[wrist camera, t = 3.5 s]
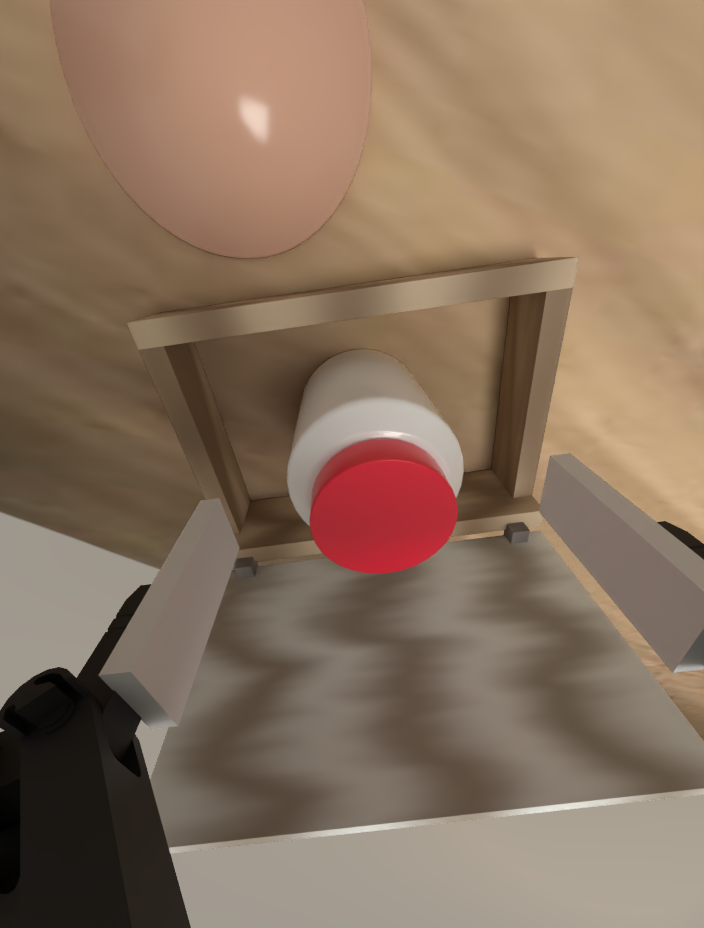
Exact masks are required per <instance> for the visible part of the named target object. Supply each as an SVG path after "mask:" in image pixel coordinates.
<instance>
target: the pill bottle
mask: <svg viewBox="0 0 704 928" xmlns="http://www.w3.org/2000/svg"><path fill="white" fill-rule="evenodd" d="M463 474H464V465H463V454H462V451H461V448H460V445H459V442H458V439H457V438H456V436H455V435H454V433H453V431H452V430H451V428H450V427H449V425H448V424H447V422H446V421H445V419H444V418H443V417H442V415H441V414H440V413H439V411H438V410H437V408H436V407H435V406H434V404H433V403H432V401H431V400H430V399H429V397H428V396H427V395H426V393H425V392H424V390H423V389H422V388H421V386H420V385H419V383H418V382H417V381H416V379H415V378H414V376H413V375H412V374H411V372H410V371H409V370H408V369H407V368H406V367H405V366H404V365H403V364H402V363H401V362H400V361H398V360H397V359H395V358H394V357H392V356H391V355H388V354H386V353H383V352H380V351H376V350H369V349H357V350H350V351H346V352H343V353H340V354H338V355H336V356H334V357H332V358H329V359H328V360H327V361H326V362H324V363H323V364H322V365H320V366H319V367H318V368H317V370H316V371H315V372H314V373H313V374H312V375H311V377H310V379H309V381H308V383H307V384H306V386H305V389H304V393H303V396H302V400H301V405H300V409H299V414H298V418H297V423H296V428H295V432H294V437H293V441H292V446H291V451H290V455H289V460H288V466H287V486H288V491H289V496H290V499H291V501H292V503H293V506H294V508H295V510H296V511H297V513H298V514H299V515H300V517H301V518H302V520H303V521H304V522H305V523H306V524H308V525H309V526H310V530H311V534H312V537H313V539H314V541H315V544H316V545H317V546H318V548H319V549H320V551H321V552H322V553H323V554H324V555H325V556H326V557H328V558H329V559H330V560H331V561H333V562H335V563H336V564H338V565H340V566H342V567H345V568H347V569H350V570H353V571H358V572H362V573H373V574H380V573H392V572H396V571H401V570H405V569H408V568H410V567H413V566H416V565H418V564H420V563H421V562H423V561H425V560H427V559H428V558H430V557H431V556H433V555H434V554H435V553H437V552H438V551H439V550H440V549H441V548H442V547H443V546H444V545H445V543H446V542H447V540H448V539H449V537H450V536H451V535H452V532H453V530H454V527H455V525H456V521H457V515H458V509H457V500H456V498H457V496H458V493H459V491H460V488H461V486H462V480H463Z"/></svg>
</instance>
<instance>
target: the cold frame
mask: <svg viewBox="0 0 704 928" xmlns="http://www.w3.org/2000/svg"><path fill="white" fill-rule="evenodd" d="M578 260H579V257H558V258H534V259H527V260H520V261H513V262H506V263H499V264H492V265H485V266H479V267H472V268H465V269H458V270H451V271H444V272H437V273H430V274H424V275H417V276H410V277H403V278H396V279H389V280H382V281H375V282H369V283H362V284H355V285H348V286H341V287H334V288H327V289H320V290H314V291H307V292H300V293H293V294H286V295H279V296H272V297H265V298H259V299H252V300H245V301H238V302H231V303H224V304H217V305H210V306H203V307H197V308H190V309H183V310H176V311H169V312H162V313H158V314H154V315H151V316H148V317H144V318H141V319H137V320H134V321H130V322H127V325H128V327H129V330H130V332H131V334H132V336H133V339H134V341H135V343H136V345H137V348H138V350H139V352H140V354H141V356H142V359H143V361H144V363H145V365H146V368H147V370H148V372H149V374H150V377H151V379H152V381H153V383H154V386H155V388H156V390H157V392H158V394H159V397H160V399H161V401H162V403H163V406H164V408H165V410H166V412H167V415H168V417H169V419H170V421H171V424H172V426H173V428H174V430H175V433H176V435H177V437H178V439H179V441H180V444H181V446H182V448H183V450H184V453H185V455H186V457H187V459H188V462H189V464H190V466H191V468H192V471H193V473H194V475H195V477H196V479H197V482H198V484H199V486H200V488H201V491H202V493H203V495H204V497H205V500H209V499H216V498H219V499H220V502H221V504H222V506H223V509H224V511H225V514H226V516H227V519H228V521H229V523H230V526H231V528H232V531H233V533H234V536H235V538H236V540H237V543H238V545H239V551H238V554H237V557H236V560H235V563H234V565H235V568H234V569H235V570H232V571H231V574H230V577H229V580H228V583H227V586H226V589H225V592H224V595H223V598H222V600H221V603H220V606H219V609H218V612H217V615H216V618H215V621H214V624H213V627H212V629H211V632H210V635H209V638H208V641H207V644H206V647H205V650H204V653H203V656H202V658H201V661H200V664H199V667H198V670H197V673H196V676H195V679H194V682H193V685H192V687H191V690H190V693H189V696H188V699H187V702H186V705H185V708H184V711H183V714H182V717H181V719H180V722H179V725H178V726H175V727H169V728H168V731H167V734H166V737H165V740H164V742H163V745H162V748H161V751H160V754H159V757H158V759H157V762H156V765H155V768H154V771H153V774H152V777H151V779H150V782H151V786H152V789H153V793H154V796H155V800H156V804H157V807H158V811H159V815H160V818H161V822H162V825H163V829H164V833H165V836H166V840H167V844H168V847H169V851H170V853H178V852H186V851H196V850H205V849H214V848H223V847H233V846H242V845H250V844H259V843H268V842H278V841H286V840H296V839H305V838H314V837H322V836H332V835H341V834H350V833H359V832H368V831H377V830H386V829H395V828H404V827H413V826H421V825H431V824H440V823H449V822H458V821H467V820H476V819H486V818H494V817H504V816H513V815H522V814H531V813H540V812H549V811H558V810H567V809H576V808H585V807H594V806H603V805H612V804H620V803H630V802H638V801H648V800H657V799H666V798H675V797H684V796H693V795H702V794H704V741H703V740H702V738H701V737H700V736H699V735H698V733H697V732H696V731H695V729H694V728H693V727H692V726H691V724H690V723H689V722H688V720H687V719H686V718H685V717H684V715H683V714H682V713H681V711H680V710H679V709H678V708H677V706H676V705H675V704H674V702H673V701H672V700H671V698H670V697H669V696H668V695H667V693H666V692H665V691H664V689H663V688H662V687H661V686H660V684H659V683H658V682H657V680H656V679H655V678H654V677H653V675H652V674H651V673H650V671H649V670H648V669H647V668H646V666H645V665H644V664H643V662H642V661H641V660H640V659H639V657H638V656H637V655H636V653H635V652H634V651H633V650H632V648H631V647H630V646H629V644H628V643H627V642H626V641H625V639H624V638H623V637H622V635H621V634H620V633H619V632H618V630H617V629H616V628H615V626H614V625H613V624H612V623H611V621H610V620H609V619H608V617H607V616H606V615H605V614H604V612H603V611H602V610H601V608H600V607H599V606H598V605H597V603H596V602H595V601H594V599H593V598H592V597H591V596H590V594H589V593H588V592H587V590H586V589H585V588H584V587H583V585H582V584H581V583H580V581H579V580H578V579H577V578H576V576H575V575H574V574H573V572H572V571H571V570H570V568H569V567H568V566H567V565H566V563H565V562H564V561H563V559H562V558H561V557H560V556H559V554H558V553H557V552H556V550H555V549H554V548H553V547H552V545H551V544H550V543H549V541H548V540H547V539H546V538H545V536H544V535H543V534H542V532H541V531H533V532H530V530H529V529H528V527H532V526H539V525H541V524H542V520H543V516H542V515H541V513H540V512H539V507H540V504H539V503H538V502H537V501H536V500H535V499H534V497H533V496H532V493H533V488H534V483H535V478H536V473H537V468H538V463H539V458H540V452H541V447H542V442H543V437H544V432H545V427H546V422H547V417H548V412H549V407H550V402H551V397H552V392H553V387H554V381H555V376H556V371H557V366H558V361H559V356H560V351H561V346H562V341H563V336H564V331H565V326H566V321H567V315H568V310H569V305H570V300H571V295H572V290H573V285H574V280H575V275H576V270H577V265H578ZM504 297H510V306H509V315H508V324H507V333H506V342H505V351H504V360H503V369H502V377H501V386H500V395H499V404H498V413H497V422H496V431H495V440H494V449H493V458H492V467H491V469H490V470H483V471H475V472H468V473H464V474H463V480H462V486H461V488H460V491H459V493H458V496H457V498H456V500H457V509H458V515H457V521H456V525H455V527H454V530H453V532H452V535H451V536H450V537H454V536H462V535H469V534H477V533H485V532H493V531H501V530H504V535H502V536H494V537H486V538H478V539H471V540H463V541H455V542H447V543H445V545H444V546H443V547H442V548H441V549H440V550H439V551H438V552H437V553H435V554H434V555H433V556H431V557H430V558H428V559H427V560H425V561H423V562H421V563H420V564H418V565H416V566H413V567H410V568H408V569H405V570H401V571H396V572H392V573H380V574H373V573H362V572H358V571H353V570H350V569H347V568H345V567H342V566H340V565H338V564H336V563H335V562H333V561H331V560H330V559H329V558H322V559H315V560H307V561H299V562H291V563H284V564H276V565H268V566H260V567H259V566H258V564H257V562H260V561H267V560H275V559H283V558H291V557H298V556H306V555H314V554H322V552H321V551H320V549H319V548H318V546H317V545H316V544H315V541H314V539H313V537H312V534H311V530H310V526H309V525H308V524H306V523H305V522H304V521H303V520H302V518H301V517H300V515H299V514H298V513H297V511H296V510H295V508H294V506H293V503H292V501H291V499H290V496H287V497H279V498H272V499H264V500H257V501H251V500H250V497H249V495H248V492H247V489H246V486H245V484H244V481H243V478H242V475H241V472H240V470H239V467H238V464H237V461H236V458H235V456H234V453H233V450H232V447H231V444H230V442H229V439H228V436H227V433H226V431H225V428H224V425H223V422H222V419H221V417H220V414H219V411H218V408H217V405H216V403H215V400H214V397H213V394H212V392H211V389H210V386H209V383H208V380H207V378H206V375H205V372H204V369H203V366H202V364H201V361H200V358H199V355H198V352H197V350H196V347H195V344H194V342H196V341H203V340H210V339H217V338H224V337H231V336H238V335H245V334H252V333H259V332H266V331H273V330H280V329H287V328H294V327H301V326H308V325H315V324H322V323H329V322H336V321H343V320H350V319H357V318H364V317H371V316H378V315H385V314H392V313H399V312H406V311H413V310H420V309H427V308H434V307H441V306H448V305H455V304H462V303H469V302H476V301H483V300H490V299H497V298H504Z"/></svg>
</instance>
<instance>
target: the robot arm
mask: <svg viewBox="0 0 704 928" xmlns="http://www.w3.org/2000/svg"><path fill="white" fill-rule="evenodd" d="M539 512H540V513H541V515H542V516H543V517H544V518H545V519H546V521H547V522H548V523H549V524H550V525H551V527H552V528H553V529H554V530H555V531H556V533H557V534H558V535H559V536H560V537H561V539H562V540H563V541H564V542H565V544H566V545H567V546H568V547H569V548H570V550H571V551H572V552H573V553H574V554H575V556H576V557H577V558H578V559H579V560H580V562H581V563H582V564H583V565H584V566H585V568H586V569H587V570H588V571H589V572H590V574H591V575H592V576H593V577H594V578H595V580H596V581H597V582H598V583H599V584H600V586H601V587H602V588H603V589H604V590H605V592H606V593H607V594H608V595H609V597H610V598H611V599H612V600H613V601H614V603H615V604H616V605H617V606H618V607H619V609H620V610H621V611H622V612H623V613H624V615H625V616H626V617H627V618H628V619H629V621H630V622H631V623H632V624H633V625H634V627H635V628H636V629H637V630H638V631H639V633H640V634H641V635H642V636H643V637H644V639H645V640H646V641H647V642H648V643H649V645H650V646H651V647H652V648H653V650H654V651H655V652H656V653H657V654H658V656H659V657H660V658H661V659H662V660H663V662H664V663H665V664H666V665H667V666H668V668H669V669H670V670H671V671H672V672H673V673H675V672H685V671H694V670H703V669H704V544H703V543H701V542H700V541H699V540H698V539H696V538H695V537H694V536H692V535H691V534H690V533H688V532H687V531H685V530H683V529H680V528H678V527H676V526H674V525H672V524H670V523H668V522H666V521H663V522H656V521H654V520H653V519H652V518H651V517H649V516H648V515H647V514H646V513H644V512H643V511H642V510H641V509H639V508H638V507H637V506H636V505H634V504H633V503H632V502H631V501H629V500H628V499H627V498H626V497H624V496H623V495H622V494H620V493H619V492H618V491H617V490H615V489H614V488H613V487H612V486H610V485H609V484H608V483H607V482H605V481H604V480H603V479H602V478H600V477H599V476H598V475H597V474H595V473H594V472H593V471H592V470H590V469H589V468H588V467H587V466H585V465H584V464H583V463H582V462H580V461H579V460H578V459H576V458H575V457H574V456H573V455H571V454H570V453H569V454H561V455H553V456H550V459H549V464H548V468H547V473H546V478H545V483H544V488H543V493H542V497H541V502H540V507H539ZM238 551H239V545H238V543H237V540H236V538H235V536H234V533H233V531H232V528H231V526H230V523H229V521H228V519H227V516H226V514H225V511H224V509H223V506H222V504H221V502H220V499H219V498H216V499H209V500H201V501H200V502H199V504H198V505H197V507H196V509H195V511H194V512H193V514H192V516H191V517H190V519H189V521H188V523H187V524H186V526H185V528H184V529H183V531H182V533H181V535H180V536H179V538H178V540H177V541H176V543H175V545H174V547H173V548H172V550H171V552H170V554H169V555H168V557H167V559H166V560H165V562H164V564H163V566H162V567H161V569H160V571H159V573H158V574H157V576H156V578H155V579H154V581H153V583H152V584H150V585H141V586H140V587H139V588H138V589H137V590H136V591H135V592H134V593H133V594H132V595H131V596H130V597H129V598H128V599H126V601H125V602H124V604H123V606H122V607H121V609H120V610H119V612H118V613H117V615H116V619H114V620H113V621H112V623H111V625H110V626H109V628H108V632H105V634H104V636H103V637H102V639H101V641H100V642H99V644H98V645H97V647H96V648H95V650H94V651H93V653H92V655H91V656H90V658H89V659H88V661H87V662H86V664H85V666H84V667H83V669H82V670H81V672H80V674H79V675H78V677H77V678H76V677H75V676H73V674H71V673H70V672H69V671H68V670H67V669H64V668H60V667H57V668H53V669H49V670H46V671H44V672H42V673H40V674H38V675H36V676H34V677H33V678H31V679H30V680H28V681H27V682H26V683H24V684H23V685H22V686H20V687H19V688H18V689H17V690H16V691H15V692H14V693H13V694H12V695H11V696H10V698H8V700H7V701H6V703H5V704H4V706H3V707H2V709H1V710H0V728H2V729H3V730H5V731H3V732H0V928H191V927H190V924H189V920H188V916H187V913H186V909H185V905H184V902H183V898H182V894H181V891H180V887H179V883H178V880H177V876H176V873H175V869H174V865H173V862H172V858H171V854H170V851H169V847H168V844H167V840H166V836H165V833H164V829H163V825H162V822H161V818H160V815H159V811H158V807H157V804H156V800H155V796H154V793H153V789H152V786H151V782H150V779H149V775H148V771H147V768H146V764H145V760H144V757H143V754H142V749H141V746H140V742H139V740H138V738H137V737H136V735H135V732H136V730H137V727H138V725H139V723H140V720H142V721H143V722H144V723H145V724H146V725H147V726H148V727H149V728H150V729H156V728H165V727H175V726H178V725H179V722H180V719H181V717H182V714H183V711H184V708H185V705H186V702H187V699H188V696H189V693H190V690H191V687H192V685H193V682H194V679H195V676H196V673H197V670H198V667H199V664H200V661H201V658H202V656H203V653H204V650H205V647H206V644H207V641H208V638H209V635H210V632H211V629H212V627H213V624H214V621H215V618H216V615H217V612H218V609H219V606H220V603H221V600H222V598H223V595H224V592H225V589H226V586H227V583H228V580H229V577H230V574H231V571H232V569H233V566H234V563H235V560H236V557H237V554H238Z"/></svg>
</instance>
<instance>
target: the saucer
mask: <svg viewBox="0 0 704 928" xmlns="http://www.w3.org/2000/svg"><path fill="white" fill-rule="evenodd" d="M50 6H51V16H52V22H53V28H54V34H55V40H56V46H57V50H58V54H59V58H60V61H61V65H62V69H63V73H64V77H65V79H66V82H67V85H68V88H69V91H70V94H71V97H72V99H73V102H74V105H75V107H76V109H77V112H78V114H79V116H80V118H81V121H82V123H83V125H84V127H85V130H86V132H87V133H88V135H89V137H90V139H91V141H92V143H93V144H94V146H95V148H96V150H97V152H98V153H99V155H100V157H101V158H102V160H103V161H104V163H105V164H106V166H107V167H108V169H109V170H110V172H111V173H112V175H113V176H114V177H115V179H116V180H117V181H118V182H119V184H120V185H121V186H122V187H123V189H124V190H125V191H126V192H127V194H128V195H129V196H130V197H131V198H132V199H133V200H134V201H135V202H136V203H137V204H138V205H139V206H140V207H141V209H142V210H143V211H144V212H145V213H147V214H148V215H149V216H150V217H151V218H152V219H154V220H155V221H156V222H157V223H158V224H160V225H161V226H162V227H163V228H165V229H166V230H168V231H169V232H171V233H172V234H174V235H175V236H177V237H178V238H180V239H182V240H184V241H186V242H187V243H189V244H191V245H193V246H195V247H198V248H200V249H203V250H206V251H208V252H211V253H214V254H219V255H223V256H227V257H236V258H263V257H268V256H272V255H277V254H280V253H283V252H285V251H288V250H290V249H293V248H295V247H296V246H298V245H300V244H301V243H303V242H305V241H306V240H308V239H309V238H310V237H311V236H313V235H314V234H315V233H316V232H317V231H319V230H320V229H321V228H322V227H323V225H324V224H325V223H326V222H327V221H328V220H329V219H330V218H331V217H332V215H333V214H334V212H335V211H336V209H337V208H338V206H339V205H340V204H341V202H342V200H343V198H344V197H345V195H346V193H347V191H348V189H349V187H350V185H351V183H352V180H353V178H354V175H355V172H356V170H357V167H358V165H359V161H360V157H361V153H362V150H363V146H364V142H365V139H366V133H367V127H368V121H369V115H370V105H371V91H372V63H371V48H370V39H369V30H368V23H367V18H366V13H365V8H364V3H363V0H50Z"/></svg>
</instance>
